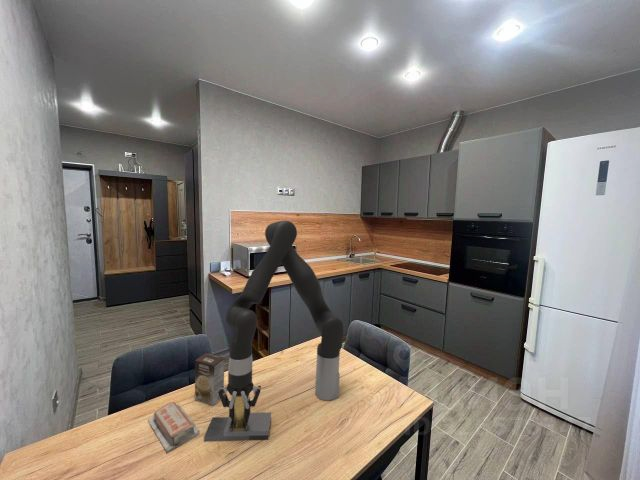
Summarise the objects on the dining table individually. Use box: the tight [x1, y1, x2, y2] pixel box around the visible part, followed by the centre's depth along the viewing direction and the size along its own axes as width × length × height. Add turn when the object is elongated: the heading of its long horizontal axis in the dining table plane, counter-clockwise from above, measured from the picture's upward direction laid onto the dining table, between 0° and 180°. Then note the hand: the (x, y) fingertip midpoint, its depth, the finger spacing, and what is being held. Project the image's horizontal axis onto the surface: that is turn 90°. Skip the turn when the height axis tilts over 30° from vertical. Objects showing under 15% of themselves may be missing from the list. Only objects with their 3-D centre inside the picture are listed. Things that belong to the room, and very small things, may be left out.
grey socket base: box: [203, 412, 272, 442], centre depth 87 cm, size 20×8×3 cm, turn 94°
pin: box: [232, 396, 247, 429], centre depth 86 cm, size 4×4×12 cm
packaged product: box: [147, 401, 200, 454], centre depth 87 cm, size 18×5×10 cm
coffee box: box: [194, 352, 225, 407], centre depth 101 cm, size 9×6×16 cm
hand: (239, 416), depth 87 cm, fingers closed on pin, 4 cm apart
